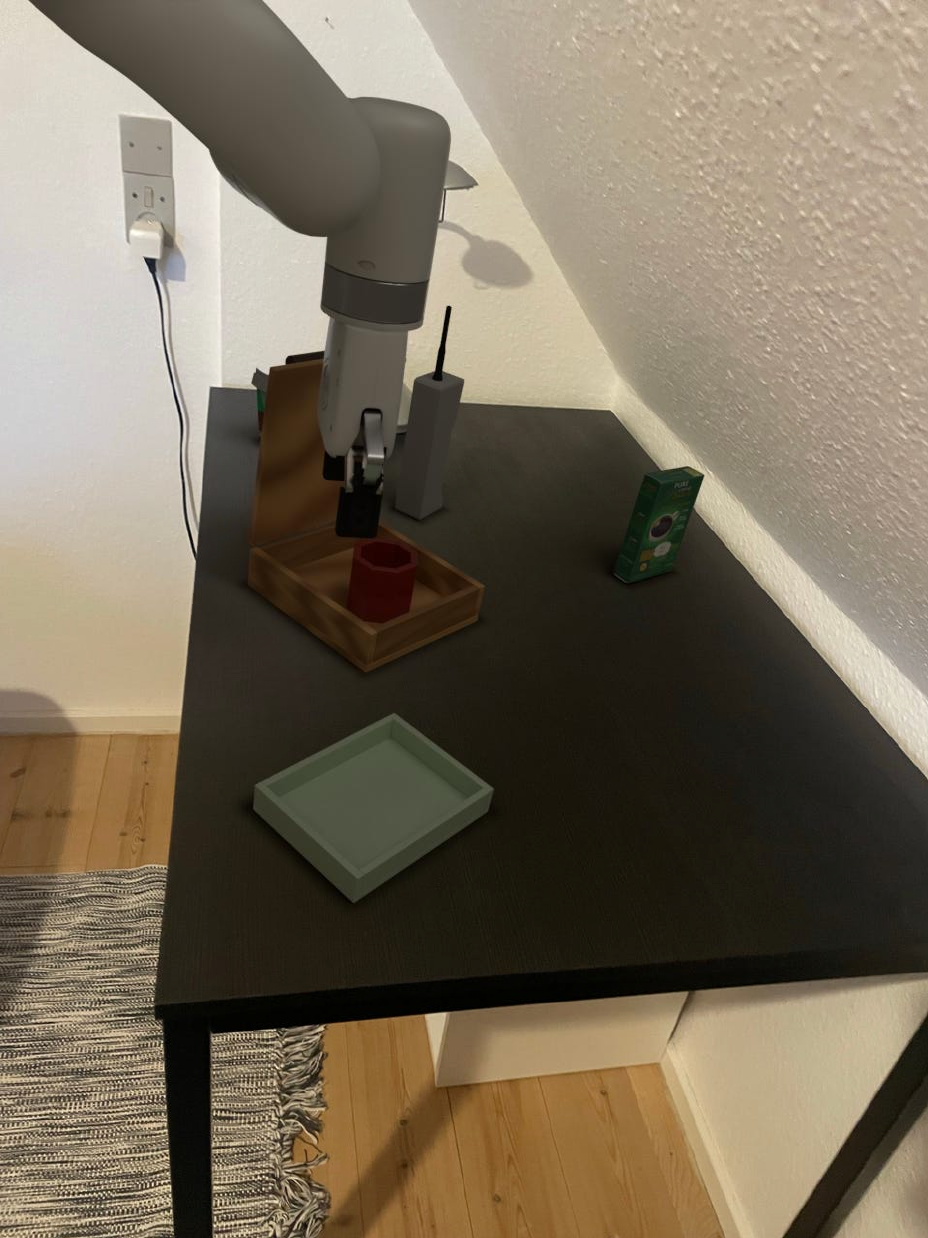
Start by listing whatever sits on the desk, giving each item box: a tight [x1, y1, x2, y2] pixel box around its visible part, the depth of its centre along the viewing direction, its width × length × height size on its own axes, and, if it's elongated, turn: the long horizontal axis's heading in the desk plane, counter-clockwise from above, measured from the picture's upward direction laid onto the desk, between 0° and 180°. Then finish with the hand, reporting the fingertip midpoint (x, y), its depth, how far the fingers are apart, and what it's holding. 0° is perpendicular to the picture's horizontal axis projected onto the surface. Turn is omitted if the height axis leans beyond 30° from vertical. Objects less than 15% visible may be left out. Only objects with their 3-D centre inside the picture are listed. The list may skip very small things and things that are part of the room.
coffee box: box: [612, 465, 705, 584], centre depth 109 cm, size 8×3×13 cm, turn 127°
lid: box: [247, 349, 363, 547], centre depth 93 cm, size 18×16×5 cm
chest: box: [247, 519, 486, 674], centre depth 95 cm, size 18×16×4 cm
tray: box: [252, 712, 495, 904], centre depth 71 cm, size 14×11×2 cm
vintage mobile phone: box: [394, 305, 465, 521], centre depth 109 cm, size 4×5×25 cm
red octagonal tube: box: [347, 538, 417, 623], centre depth 93 cm, size 6×6×6 cm
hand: (347, 506), depth 77 cm, fingers open, 9 cm apart
